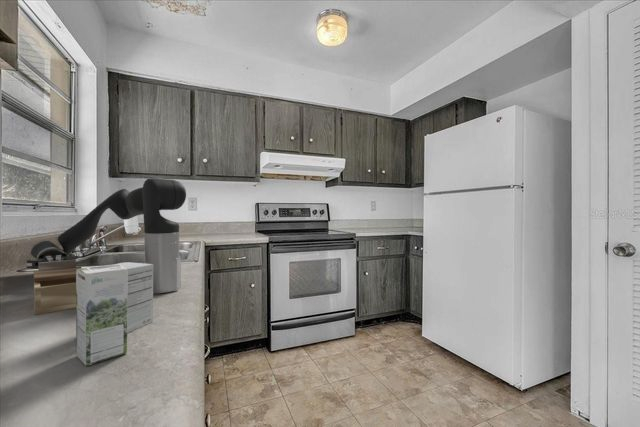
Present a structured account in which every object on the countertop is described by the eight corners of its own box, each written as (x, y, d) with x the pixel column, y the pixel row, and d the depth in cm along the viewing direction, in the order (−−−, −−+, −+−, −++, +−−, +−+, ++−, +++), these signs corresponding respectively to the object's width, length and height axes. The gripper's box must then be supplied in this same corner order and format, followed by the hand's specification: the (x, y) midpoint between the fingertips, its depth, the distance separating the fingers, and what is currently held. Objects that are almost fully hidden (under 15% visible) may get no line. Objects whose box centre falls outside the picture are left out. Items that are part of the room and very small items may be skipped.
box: (34, 303, 76) (33, 279, 76) (83, 295, 83) (83, 274, 83) (34, 314, 68) (34, 288, 68) (90, 305, 75) (89, 281, 75)
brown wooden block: (33, 273, 82) (33, 263, 82) (79, 268, 89) (79, 258, 89) (34, 282, 72) (34, 270, 72) (86, 276, 79) (86, 264, 79)
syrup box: (116, 344, 53) (116, 262, 53) (128, 354, 49) (128, 266, 49) (75, 356, 49) (75, 267, 48) (85, 368, 45) (84, 272, 45)
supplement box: (94, 331, 59) (93, 267, 59) (128, 318, 66) (127, 261, 66) (122, 335, 57) (122, 269, 56) (154, 321, 64) (154, 263, 64)
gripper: (77, 267, 105) (84, 274, 93) (24, 272, 96) (24, 281, 84) (77, 246, 105) (83, 250, 93) (24, 249, 96) (24, 255, 83)
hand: (55, 265), depth 88 cm, fingers closed
